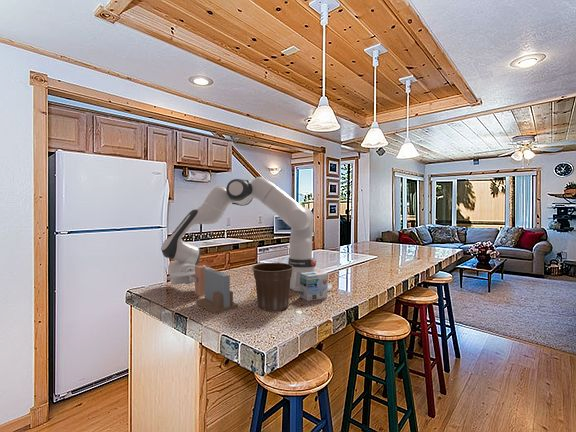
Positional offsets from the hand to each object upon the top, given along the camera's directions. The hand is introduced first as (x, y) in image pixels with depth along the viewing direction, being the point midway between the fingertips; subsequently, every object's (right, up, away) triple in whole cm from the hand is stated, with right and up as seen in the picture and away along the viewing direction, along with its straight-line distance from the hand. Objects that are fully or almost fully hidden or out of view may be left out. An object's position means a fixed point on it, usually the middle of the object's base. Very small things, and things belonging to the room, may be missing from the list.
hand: (201, 279), depth 141 cm
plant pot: (+31, -9, -11) cm, 35 cm away
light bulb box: (+49, -8, +1) cm, 49 cm away
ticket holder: (+9, -9, -10) cm, 16 cm away
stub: (-1, -6, +1) cm, 7 cm away
